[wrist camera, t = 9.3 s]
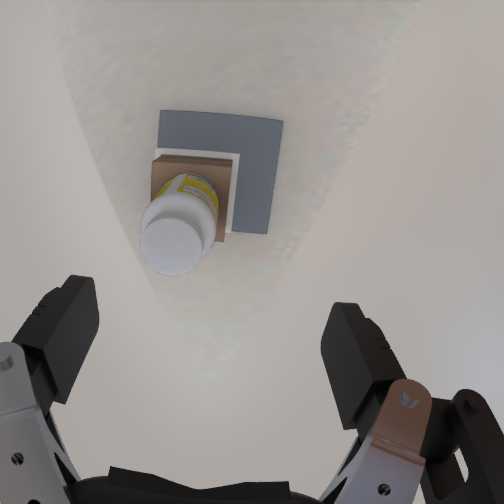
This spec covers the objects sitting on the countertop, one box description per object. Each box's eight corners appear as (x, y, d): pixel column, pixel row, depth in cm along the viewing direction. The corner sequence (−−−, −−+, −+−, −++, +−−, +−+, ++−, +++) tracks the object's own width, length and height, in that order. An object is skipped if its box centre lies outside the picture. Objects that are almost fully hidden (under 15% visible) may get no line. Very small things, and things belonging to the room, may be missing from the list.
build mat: (160, 110, 29) (158, 110, 28) (281, 120, 30) (283, 121, 29) (154, 222, 34) (152, 226, 33) (265, 232, 35) (266, 236, 34)
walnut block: (161, 155, 30) (152, 161, 26) (231, 160, 31) (231, 167, 27) (159, 220, 33) (150, 235, 29) (224, 226, 34) (224, 241, 30)
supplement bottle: (165, 233, 29) (139, 289, 20) (155, 177, 27) (118, 212, 18) (223, 226, 29) (219, 282, 20) (215, 168, 27) (206, 199, 18)
